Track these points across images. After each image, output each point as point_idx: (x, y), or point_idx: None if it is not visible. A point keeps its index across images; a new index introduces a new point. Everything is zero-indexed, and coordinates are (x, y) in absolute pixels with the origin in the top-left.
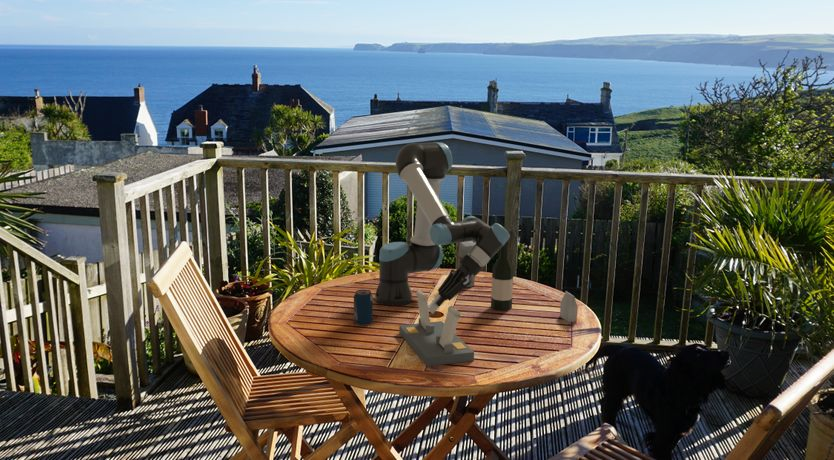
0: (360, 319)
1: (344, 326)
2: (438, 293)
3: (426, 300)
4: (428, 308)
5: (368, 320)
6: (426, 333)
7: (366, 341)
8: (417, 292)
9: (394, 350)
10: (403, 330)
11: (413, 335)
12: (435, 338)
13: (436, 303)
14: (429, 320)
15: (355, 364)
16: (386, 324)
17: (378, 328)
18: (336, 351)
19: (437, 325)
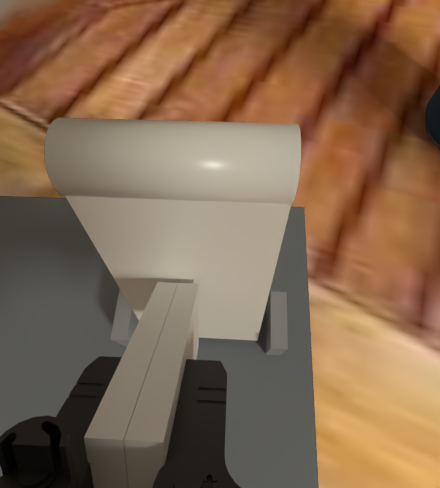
0: (436, 90)
1: (421, 67)
2: (202, 458)
3: (73, 197)
4: (155, 288)
5: (435, 123)
6: None
7: (243, 96)
8: (263, 123)
9: None
10: None
11: None
12: (42, 317)
13: (105, 360)
14: (131, 305)
15: (70, 33)
16: (429, 211)
17: (379, 166)
18: (190, 12)
19: (237, 427)
